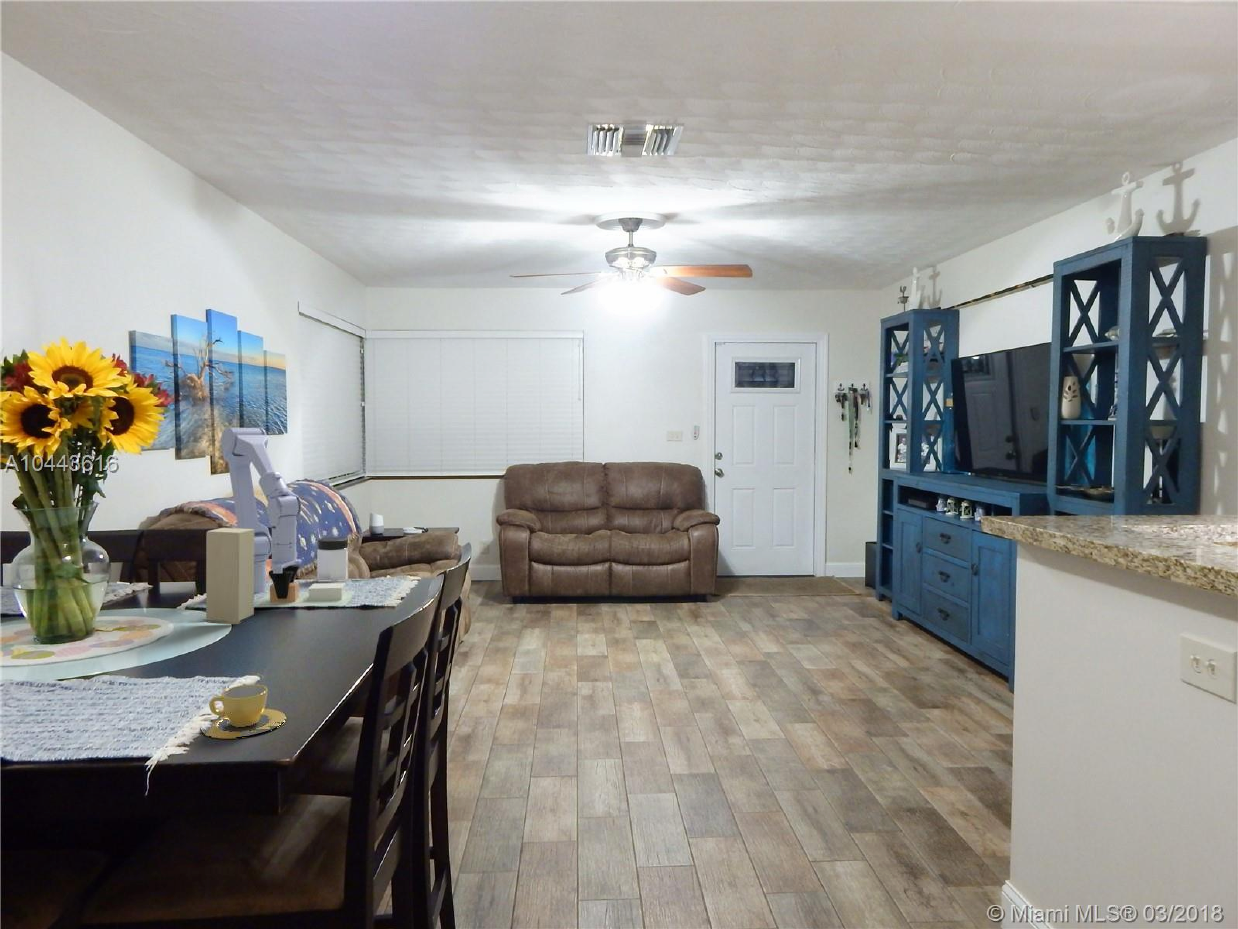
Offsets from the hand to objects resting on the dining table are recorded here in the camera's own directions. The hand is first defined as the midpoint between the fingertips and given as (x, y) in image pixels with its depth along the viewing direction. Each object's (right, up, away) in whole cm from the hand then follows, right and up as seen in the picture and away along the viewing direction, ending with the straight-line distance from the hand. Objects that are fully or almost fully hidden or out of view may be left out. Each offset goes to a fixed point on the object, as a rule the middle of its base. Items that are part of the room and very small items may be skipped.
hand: (284, 596), depth 202 cm
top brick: (0, -1, 0) cm, 1 cm away
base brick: (+9, -1, +4) cm, 10 cm away
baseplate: (+5, -2, +2) cm, 5 cm away
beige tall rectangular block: (-5, -3, -17) cm, 18 cm away
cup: (+27, -7, -78) cm, 83 cm away
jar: (+2, 0, +29) cm, 29 cm away
